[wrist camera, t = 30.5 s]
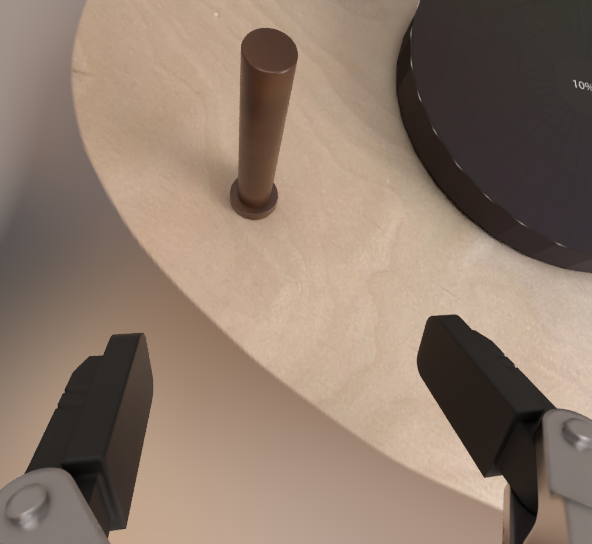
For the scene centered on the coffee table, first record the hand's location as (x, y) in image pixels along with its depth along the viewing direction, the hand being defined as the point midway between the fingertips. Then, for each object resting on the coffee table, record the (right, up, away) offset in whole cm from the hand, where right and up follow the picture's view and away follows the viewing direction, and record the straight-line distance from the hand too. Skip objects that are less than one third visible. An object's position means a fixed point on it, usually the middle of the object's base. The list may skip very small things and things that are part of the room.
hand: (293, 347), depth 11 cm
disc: (+23, +16, +23) cm, 36 cm away
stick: (-3, +7, +15) cm, 17 cm away
